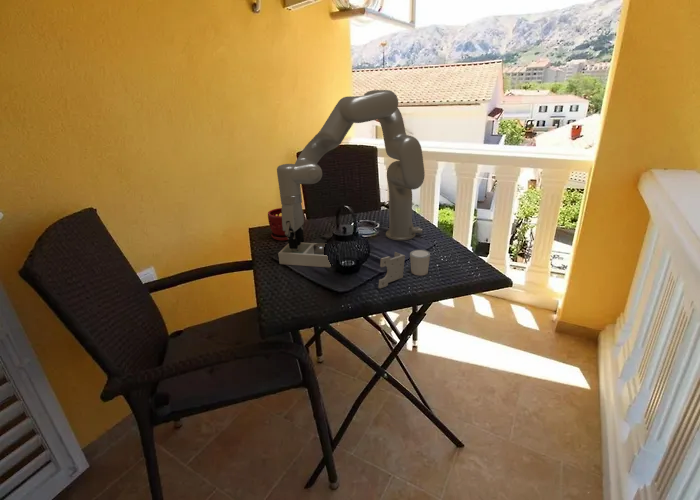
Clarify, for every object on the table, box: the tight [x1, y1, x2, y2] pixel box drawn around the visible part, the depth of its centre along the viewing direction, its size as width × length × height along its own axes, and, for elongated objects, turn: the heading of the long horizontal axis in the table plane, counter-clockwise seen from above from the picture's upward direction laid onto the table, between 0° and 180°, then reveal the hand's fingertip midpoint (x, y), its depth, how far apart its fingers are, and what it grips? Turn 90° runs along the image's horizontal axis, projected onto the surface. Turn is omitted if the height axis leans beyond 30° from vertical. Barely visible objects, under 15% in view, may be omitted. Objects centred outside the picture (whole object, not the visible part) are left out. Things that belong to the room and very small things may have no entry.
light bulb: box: [290, 228, 304, 251], centre depth 141 cm, size 6×6×10 cm
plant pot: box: [267, 207, 288, 241], centre depth 164 cm, size 13×13×12 cm
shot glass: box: [409, 249, 431, 276], centre depth 128 cm, size 7×7×7 cm
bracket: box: [378, 251, 406, 289], centre depth 123 cm, size 11×4×10 cm, turn 133°
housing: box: [277, 242, 332, 268], centre depth 142 cm, size 20×11×6 cm, turn 75°
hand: (296, 244), depth 142 cm, fingers closed on light bulb, 5 cm apart
